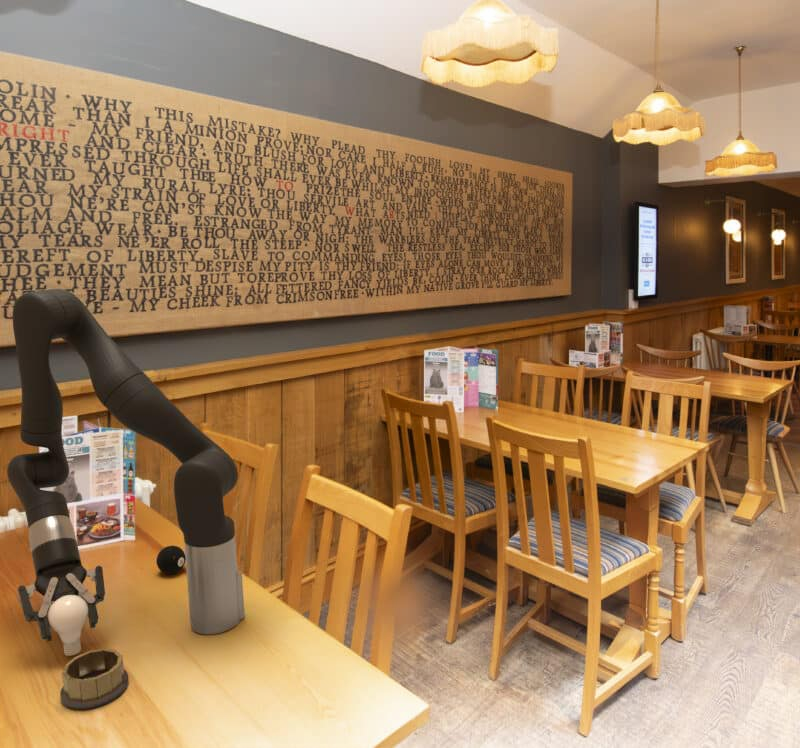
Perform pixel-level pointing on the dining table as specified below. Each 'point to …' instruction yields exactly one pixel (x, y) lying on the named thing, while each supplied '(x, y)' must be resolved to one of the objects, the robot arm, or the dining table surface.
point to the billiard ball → (171, 559)
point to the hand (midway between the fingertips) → (71, 633)
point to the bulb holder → (93, 679)
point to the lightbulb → (68, 621)
